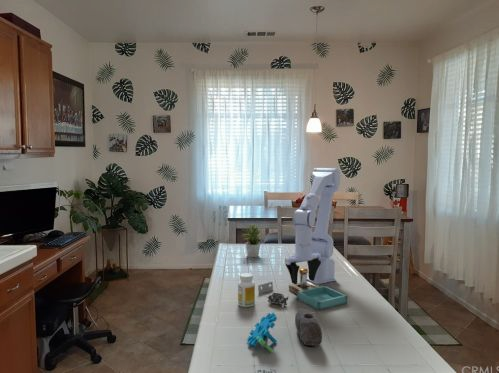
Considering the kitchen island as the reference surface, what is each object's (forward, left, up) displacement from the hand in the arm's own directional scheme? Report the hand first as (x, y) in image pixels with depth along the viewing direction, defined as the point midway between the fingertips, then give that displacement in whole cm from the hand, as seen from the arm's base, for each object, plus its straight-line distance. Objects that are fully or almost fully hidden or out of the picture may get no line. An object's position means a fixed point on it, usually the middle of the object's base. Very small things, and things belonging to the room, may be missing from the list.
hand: (303, 281), depth 132 cm
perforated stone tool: (+20, +27, -4) cm, 34 cm away
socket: (0, 0, -4) cm, 4 cm away
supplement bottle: (+23, 0, -4) cm, 23 cm away
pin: (0, 0, -4) cm, 4 cm away
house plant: (-9, -52, -4) cm, 53 cm away
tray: (0, +10, -4) cm, 11 cm away
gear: (+32, +25, -4) cm, 41 cm away
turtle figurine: (+12, +9, -4) cm, 16 cm away
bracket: (+10, -3, -4) cm, 12 cm away
